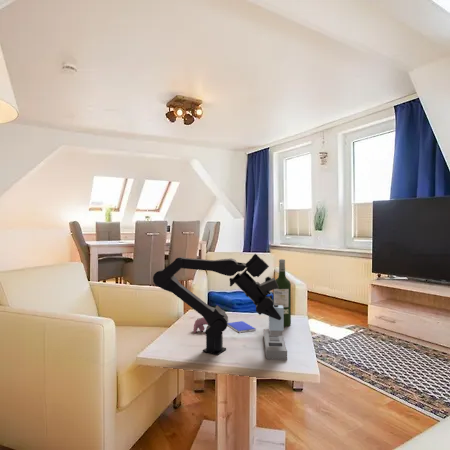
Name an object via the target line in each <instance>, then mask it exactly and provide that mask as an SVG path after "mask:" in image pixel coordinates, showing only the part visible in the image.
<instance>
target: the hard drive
mask: <svg viewBox="0 0 450 450" xmlns="http://www.w3.org/2000/svg"><path fill="white" fill-rule="evenodd" d="M227 327H229V328H231V329H232V330H234V331H235V332H237V333H238V332H239V333H238V334H241V332H242V333H248V332H254V331H257V329H256V328H255V327H253V326H252V325H250V324H248V323H247V322H245V321H243V320H241V321H233V322H232V321H231V322H228V324H227Z"/></svg>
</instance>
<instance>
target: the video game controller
mask: <svg viewBox="0 0 450 450" xmlns="http://www.w3.org/2000/svg"><path fill="white" fill-rule="evenodd" d="M205 325H207V326H208V323H207V322H206V320H205V319H204V317H203V316H202V317H200V318H199V317H198V318H197V319H195V321H194V324H193V333H194V334H196V333H197V331H198V329H199V331H200V332H203V331H205V329H206V328H207V326H206V327H205Z"/></svg>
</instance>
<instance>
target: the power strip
mask: <svg viewBox="0 0 450 450" xmlns="http://www.w3.org/2000/svg"><path fill="white" fill-rule="evenodd" d="M263 341H264V342H263V343H264V349H265V359H266V360H279V361H281V360H283V361H287V360H288V349H287V345H286V342H285V339H284V336H283V334H282V336H271V335H270V330H269V328H263Z"/></svg>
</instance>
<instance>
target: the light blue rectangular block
mask: <svg viewBox="0 0 450 450" xmlns="http://www.w3.org/2000/svg"><path fill="white" fill-rule="evenodd" d="M273 304H274V303H273ZM273 306H274V308H275V309H276V311H277V312H278V314H279V315H280V317H281V319H280V320H277V319H275V318H273V317H270V316H268V329H269V330H270V335H271V336H282V335H283V332H284V330H285V328H284V308H283V305H277V304H274V305H273Z"/></svg>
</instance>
